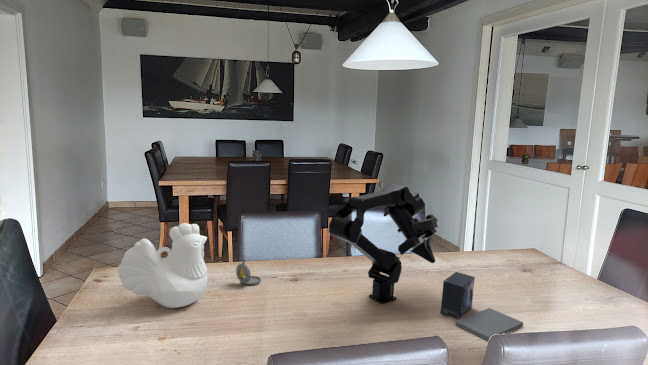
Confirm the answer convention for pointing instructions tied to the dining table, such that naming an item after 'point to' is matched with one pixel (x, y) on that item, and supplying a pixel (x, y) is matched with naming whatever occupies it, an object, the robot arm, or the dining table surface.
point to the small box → (457, 295)
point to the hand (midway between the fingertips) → (433, 262)
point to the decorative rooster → (167, 268)
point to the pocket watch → (246, 274)
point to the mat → (488, 323)
